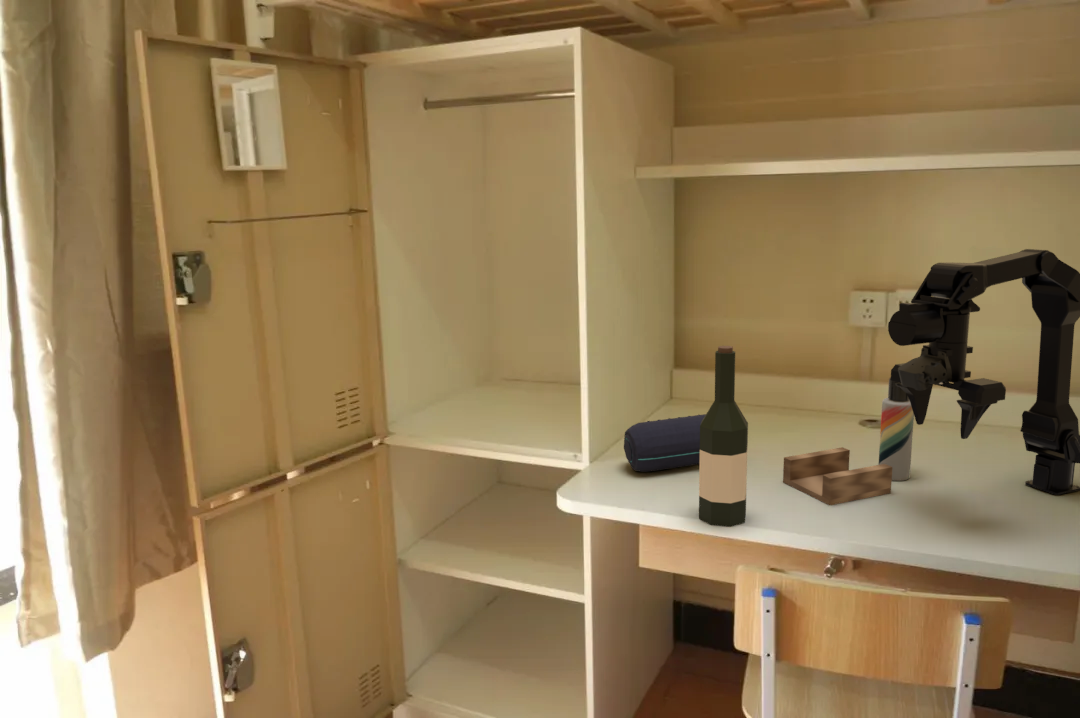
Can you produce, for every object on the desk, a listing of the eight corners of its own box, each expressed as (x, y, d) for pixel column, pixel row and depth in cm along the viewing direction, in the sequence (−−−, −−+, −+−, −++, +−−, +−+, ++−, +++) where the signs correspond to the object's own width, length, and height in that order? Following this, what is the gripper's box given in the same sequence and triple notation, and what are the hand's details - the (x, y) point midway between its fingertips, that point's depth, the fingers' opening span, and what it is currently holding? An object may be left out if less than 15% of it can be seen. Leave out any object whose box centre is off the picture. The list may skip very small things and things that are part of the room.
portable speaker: (722, 450, 179) (722, 405, 177) (747, 464, 170) (748, 417, 168) (615, 465, 171) (615, 419, 169) (636, 481, 162) (636, 432, 160)
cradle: (841, 471, 164) (842, 447, 163) (890, 492, 152) (892, 467, 151) (782, 482, 159) (783, 457, 158) (829, 505, 147) (830, 478, 146)
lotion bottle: (880, 469, 164) (886, 371, 160) (911, 474, 161) (918, 374, 157) (875, 478, 159) (881, 377, 155) (907, 483, 156) (914, 380, 152)
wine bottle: (712, 504, 149) (714, 340, 143) (755, 515, 144) (760, 345, 137) (689, 519, 142) (690, 348, 136) (733, 530, 137) (737, 353, 131)
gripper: (868, 335, 142) (863, 423, 145) (958, 354, 125) (950, 453, 128) (918, 330, 146) (912, 415, 149) (1012, 347, 129) (1003, 443, 132)
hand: (941, 431), depth 139 cm, fingers open, 9 cm apart
